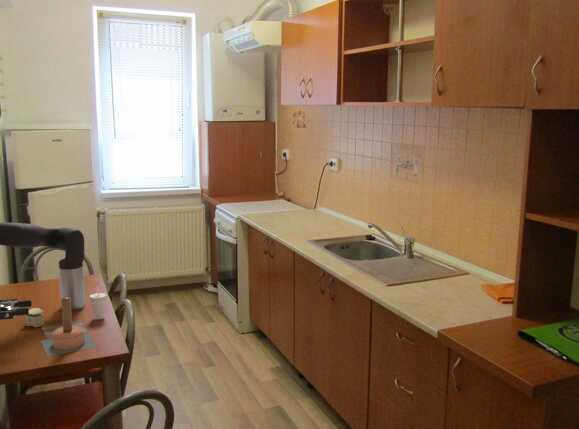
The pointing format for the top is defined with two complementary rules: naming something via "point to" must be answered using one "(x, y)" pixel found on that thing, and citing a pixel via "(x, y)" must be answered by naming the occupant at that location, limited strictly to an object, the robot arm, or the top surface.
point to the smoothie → (98, 304)
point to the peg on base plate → (67, 330)
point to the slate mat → (51, 351)
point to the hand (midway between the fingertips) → (30, 307)
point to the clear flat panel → (51, 328)
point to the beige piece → (35, 317)
